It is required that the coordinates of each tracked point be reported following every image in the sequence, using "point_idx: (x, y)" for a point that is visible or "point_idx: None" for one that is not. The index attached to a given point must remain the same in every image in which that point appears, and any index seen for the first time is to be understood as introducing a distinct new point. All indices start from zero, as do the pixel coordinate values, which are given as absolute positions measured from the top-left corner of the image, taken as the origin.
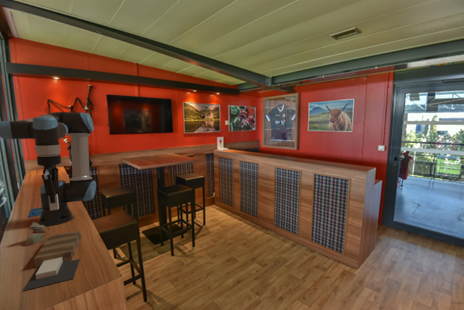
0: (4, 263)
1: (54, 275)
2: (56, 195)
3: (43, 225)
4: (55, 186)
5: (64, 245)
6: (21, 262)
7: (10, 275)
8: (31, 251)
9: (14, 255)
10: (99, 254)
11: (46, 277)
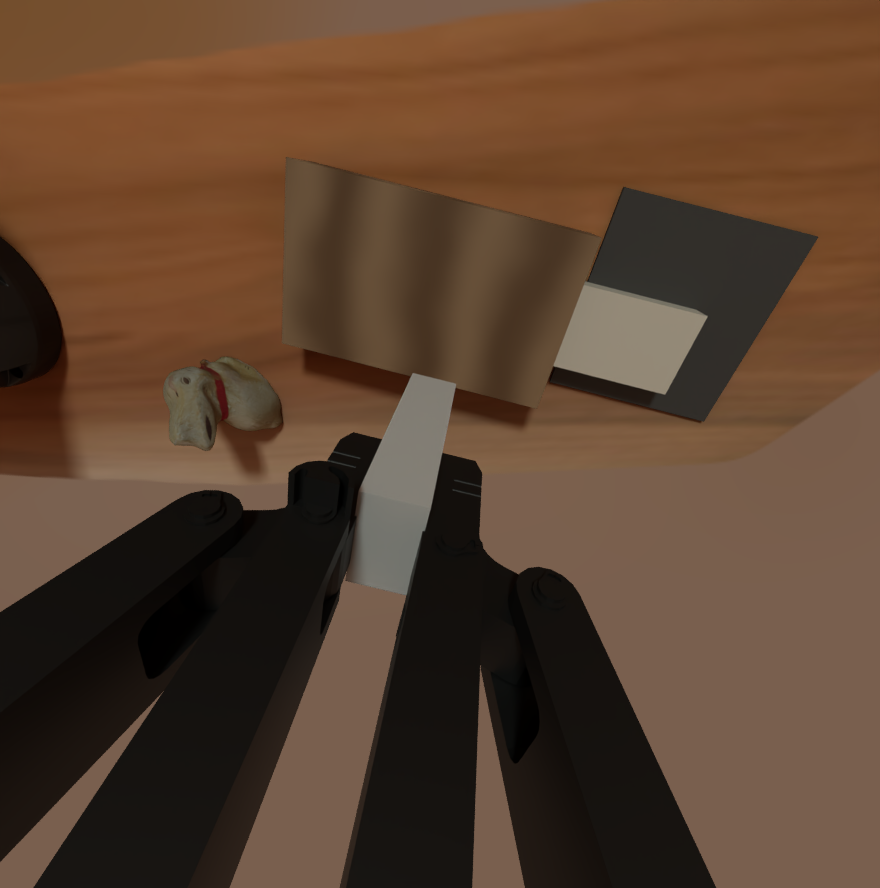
0: None
1: None
2: (429, 502)
3: (172, 383)
4: (292, 664)
5: (483, 273)
6: None
7: (528, 457)
8: (353, 403)
9: None
10: (661, 43)
11: None
